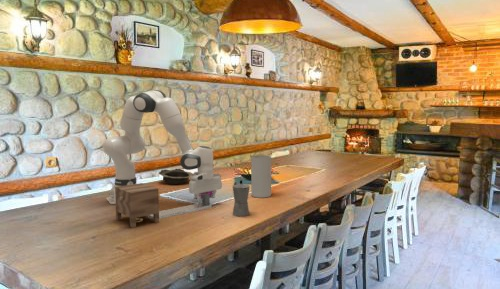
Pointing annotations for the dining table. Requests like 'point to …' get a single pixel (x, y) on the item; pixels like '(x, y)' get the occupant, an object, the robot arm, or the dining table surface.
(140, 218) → the brass token
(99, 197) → the dining table surface
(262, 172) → the cylinder vase
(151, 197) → the walnut cabinet
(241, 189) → the coffeepot
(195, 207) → the grey long bar
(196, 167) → the robot arm
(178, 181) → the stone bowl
